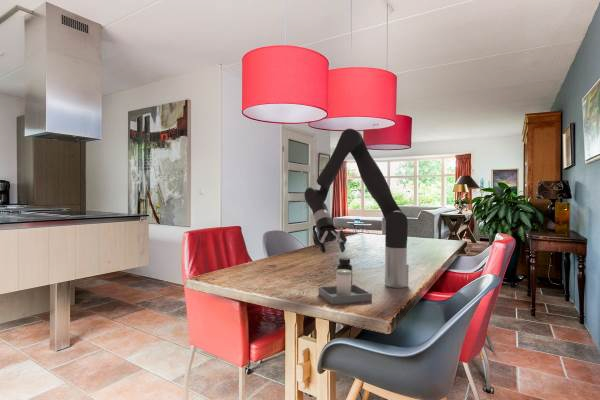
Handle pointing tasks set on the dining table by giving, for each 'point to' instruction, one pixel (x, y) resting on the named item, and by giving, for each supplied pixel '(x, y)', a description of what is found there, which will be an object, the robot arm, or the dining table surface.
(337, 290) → the green capped canister
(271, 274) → the dining table surface
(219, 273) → the dining table surface
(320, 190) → the robot arm
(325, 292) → the tray
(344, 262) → the supplement bottle
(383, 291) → the dining table surface
